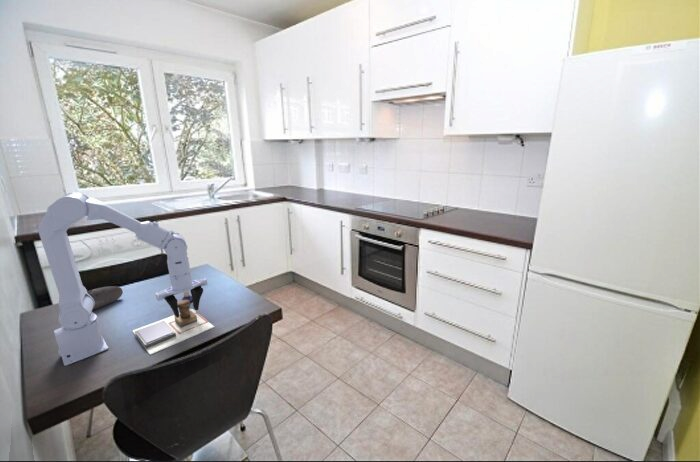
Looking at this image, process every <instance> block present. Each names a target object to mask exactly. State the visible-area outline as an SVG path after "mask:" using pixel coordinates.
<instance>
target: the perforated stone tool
mask: <svg viewBox="0 0 700 462" xmlns="http://www.w3.org/2000/svg"><path fill="white" fill-rule="evenodd" d="M123 291H124V290H123V289H122V287H120V286H113V285H112V286H103V287H97V288H94V289H90V290H87V293H88V294H89V295H90V296H91V297H92V298H93V299H94V302H95V305H94V307H93V309H92V311H94V310H98V309H99V308H102V307H104V306H107V305H110V304H112V303H113V302H116V301H117V300H119V299H120V298H121V297H122V295H123Z"/></svg>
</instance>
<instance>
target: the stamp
mask: <svg viewBox="0 0 700 462" xmlns="http://www.w3.org/2000/svg"><path fill="white" fill-rule="evenodd" d="M190 304H191V303H190V301H189V300H182V299H181V300H179V301H177V305H178V311H179V313H180V314H179V317H178V318H177V317H176V316H174V317H175V322H176V323H177V324H178V325H179V326H180V327H181V328H182V327H184V326H187V325H189V324H192V323H194V322H197V316H196V315H195V314H194V313H193V312H192V311H191V310H190V311H189V309H190Z"/></svg>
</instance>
